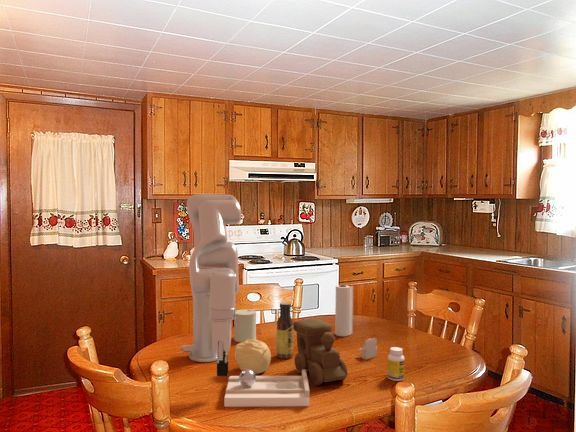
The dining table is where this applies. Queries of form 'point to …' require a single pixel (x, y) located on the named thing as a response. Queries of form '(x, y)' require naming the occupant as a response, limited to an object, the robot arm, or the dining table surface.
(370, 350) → the architectural model
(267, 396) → the white tray
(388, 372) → the supplement bottle
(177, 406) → the dining table surface
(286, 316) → the sauce bottle
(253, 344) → the sculpture
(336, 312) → the paper towel roll
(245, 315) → the can
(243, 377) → the steel ball
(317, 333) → the wooden toy train
